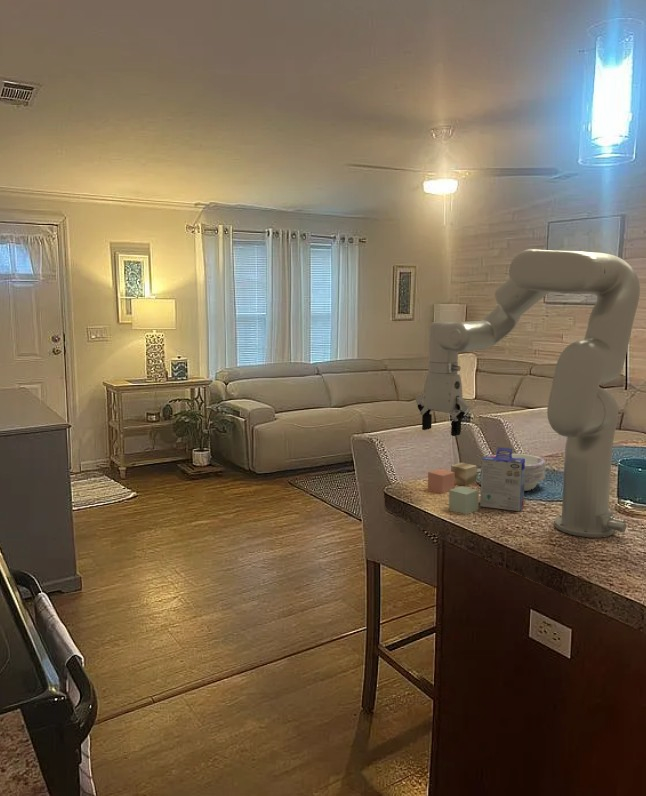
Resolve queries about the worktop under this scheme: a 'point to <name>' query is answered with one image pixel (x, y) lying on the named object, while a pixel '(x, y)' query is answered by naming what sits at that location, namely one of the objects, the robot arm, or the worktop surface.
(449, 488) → the coral block
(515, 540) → the worktop surface
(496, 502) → the ink cartridge box
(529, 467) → the paper bowls
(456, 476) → the maple block
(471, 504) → the sage block
